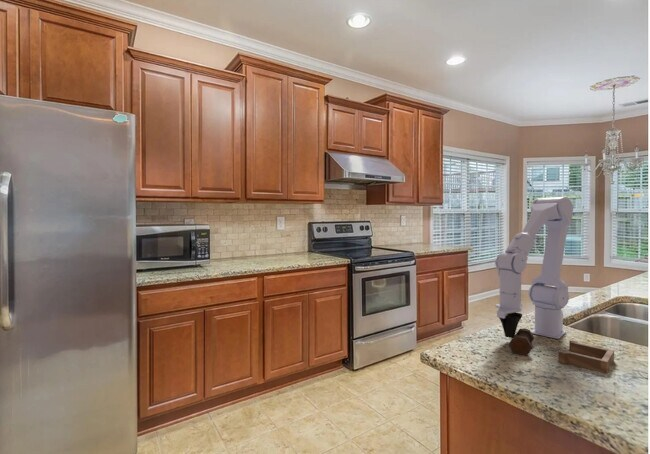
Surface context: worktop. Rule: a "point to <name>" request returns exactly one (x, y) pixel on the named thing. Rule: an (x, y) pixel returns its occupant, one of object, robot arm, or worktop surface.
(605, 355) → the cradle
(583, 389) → the worktop surface
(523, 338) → the bolt
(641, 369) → the worktop surface
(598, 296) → the worktop surface
